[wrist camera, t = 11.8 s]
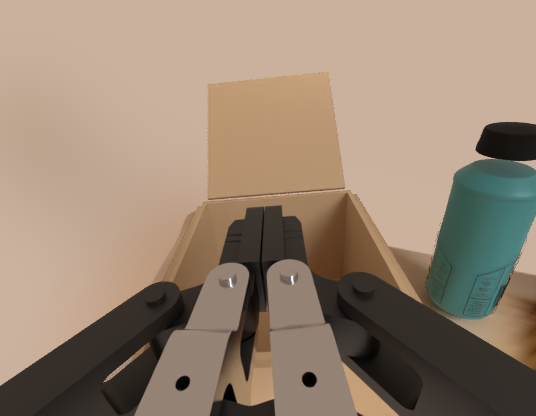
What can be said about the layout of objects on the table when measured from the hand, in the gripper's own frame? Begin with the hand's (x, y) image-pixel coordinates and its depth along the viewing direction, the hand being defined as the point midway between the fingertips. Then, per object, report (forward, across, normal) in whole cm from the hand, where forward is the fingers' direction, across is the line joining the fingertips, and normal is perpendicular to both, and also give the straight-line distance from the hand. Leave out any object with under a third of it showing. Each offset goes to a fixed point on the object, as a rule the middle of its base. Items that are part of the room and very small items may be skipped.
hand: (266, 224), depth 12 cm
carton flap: (+22, 0, +1) cm, 22 cm away
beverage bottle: (+12, -19, +20) cm, 30 cm away
